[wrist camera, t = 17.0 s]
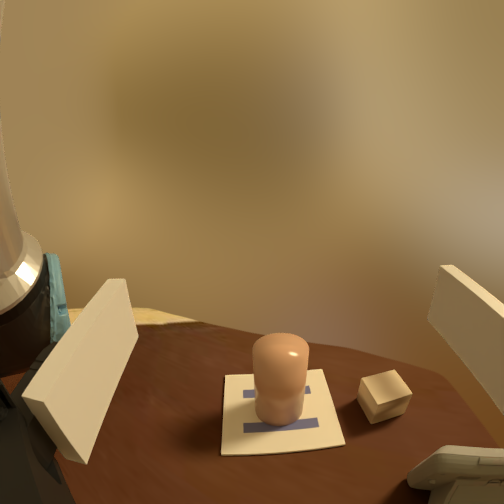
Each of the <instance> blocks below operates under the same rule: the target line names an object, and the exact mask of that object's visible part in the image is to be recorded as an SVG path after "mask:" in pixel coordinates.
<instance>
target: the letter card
mask: <svg viewBox="0 0 504 504" xmlns="http://www.w3.org/2000/svg"><path fill="white" fill-rule="evenodd" d="M343 445H345V441H344V438H343V434H342V431H341V428H340V424H339V421H338V418H337V415H336V411H335V408H334V405H333V402H332V398H331V395H330V392H329V389H328V386H327V383H326V380H325V376H324V373H323V370H322V369H318V370H308V371H307V376H306V386H305V395H304V404H303V412H302V415H301V416H300V418H299V419H298V420H297V421H295V422H294V423H292V424H289V425H286V426H272V425H268V424H266V423H264V422H262V421H261V420H260V419H259V418H258V417H257V415H256V412H255V394H254V374H246V375H225V391H224V409H223V427H222V447H221V456H235V455H265V454H280V453H291V452H301V451H310V450H317V449H325V448H331V447H337V446H343Z"/></svg>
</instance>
